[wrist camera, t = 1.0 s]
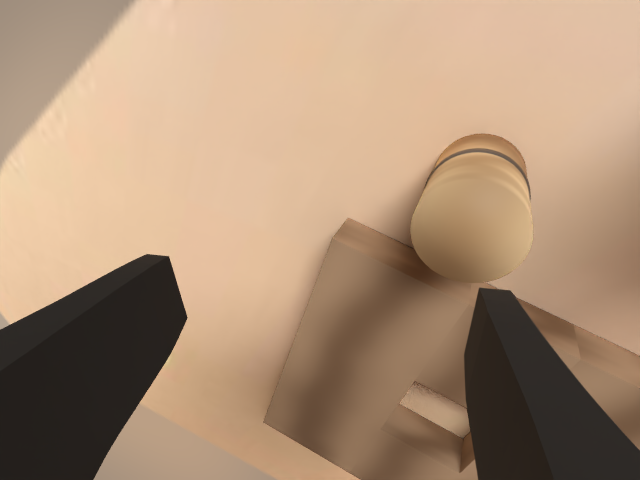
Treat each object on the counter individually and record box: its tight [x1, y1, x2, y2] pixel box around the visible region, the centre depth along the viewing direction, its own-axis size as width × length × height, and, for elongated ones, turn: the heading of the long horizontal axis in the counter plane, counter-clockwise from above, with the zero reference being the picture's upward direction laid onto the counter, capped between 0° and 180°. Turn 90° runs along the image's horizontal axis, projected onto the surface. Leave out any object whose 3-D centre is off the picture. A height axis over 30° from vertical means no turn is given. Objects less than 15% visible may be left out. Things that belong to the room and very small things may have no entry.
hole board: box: [263, 218, 640, 480], centre depth 25 cm, size 20×18×2 cm
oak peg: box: [410, 134, 533, 283], centre depth 16 cm, size 4×4×6 cm
